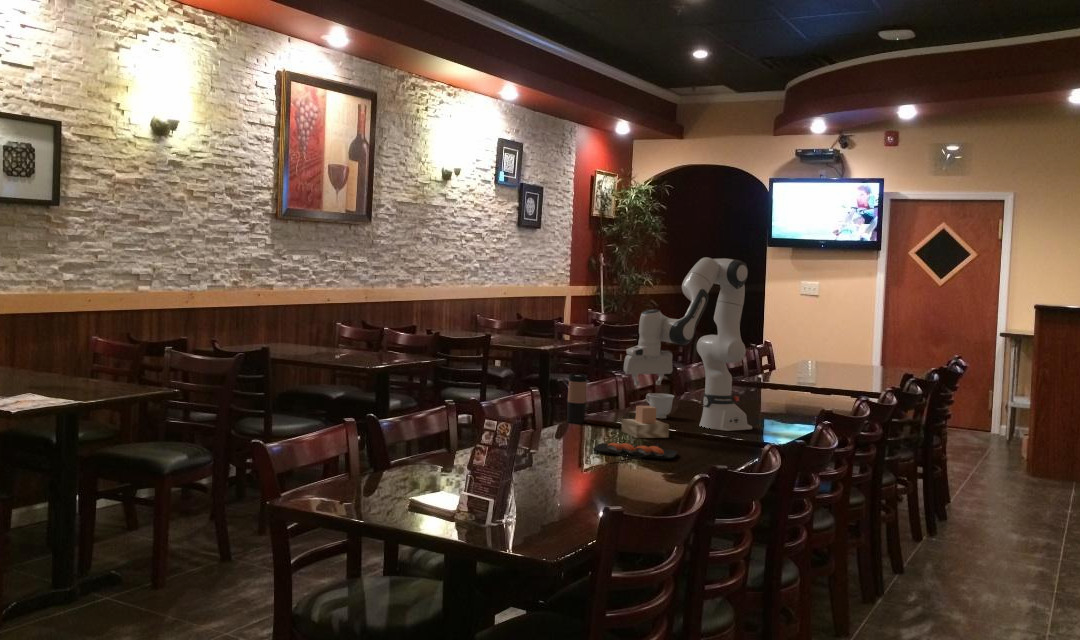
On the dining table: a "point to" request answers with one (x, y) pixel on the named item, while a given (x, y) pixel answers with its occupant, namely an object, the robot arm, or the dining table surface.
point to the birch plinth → (645, 429)
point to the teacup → (660, 403)
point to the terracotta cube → (645, 414)
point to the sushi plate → (635, 451)
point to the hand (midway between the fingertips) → (647, 385)
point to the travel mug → (576, 398)
